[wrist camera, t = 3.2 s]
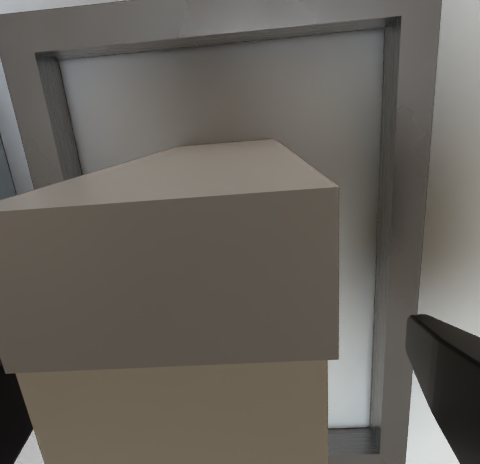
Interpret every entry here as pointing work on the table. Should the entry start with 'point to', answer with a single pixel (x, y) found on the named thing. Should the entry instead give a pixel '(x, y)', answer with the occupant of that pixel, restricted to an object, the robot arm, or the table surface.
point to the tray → (5, 177)
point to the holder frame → (251, 29)
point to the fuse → (175, 308)
